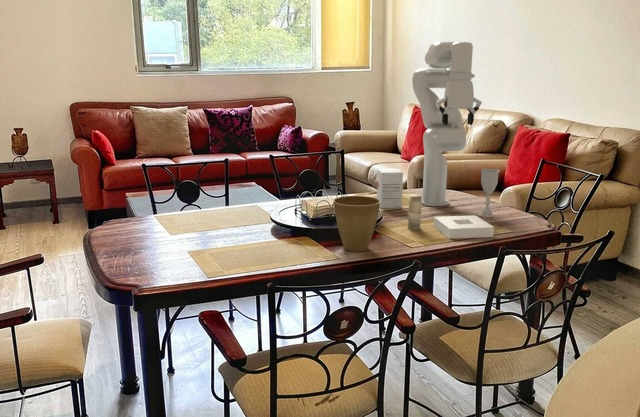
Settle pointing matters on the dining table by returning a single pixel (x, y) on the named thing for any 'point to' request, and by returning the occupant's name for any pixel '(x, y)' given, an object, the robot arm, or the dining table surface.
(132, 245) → the dining table surface
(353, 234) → the plant pot
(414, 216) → the peg
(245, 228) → the dining table surface
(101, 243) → the dining table surface
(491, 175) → the chalice
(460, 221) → the socket
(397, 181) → the supplement box
